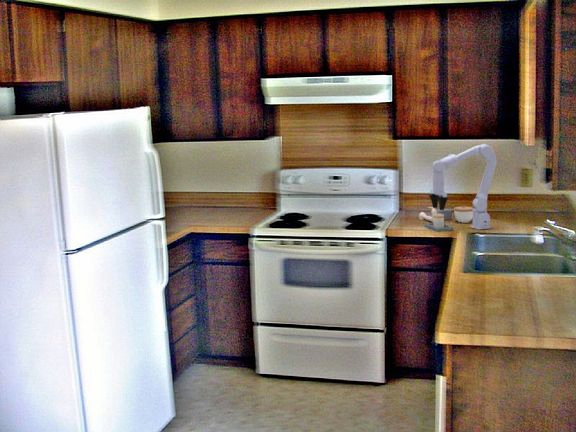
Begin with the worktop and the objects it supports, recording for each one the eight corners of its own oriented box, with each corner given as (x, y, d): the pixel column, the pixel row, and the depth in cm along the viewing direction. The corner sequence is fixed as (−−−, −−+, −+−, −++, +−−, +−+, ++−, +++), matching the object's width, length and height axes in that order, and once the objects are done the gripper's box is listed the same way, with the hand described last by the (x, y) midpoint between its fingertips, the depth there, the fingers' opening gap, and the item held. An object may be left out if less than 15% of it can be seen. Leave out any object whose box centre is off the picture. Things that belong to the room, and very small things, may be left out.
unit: (452, 220, 421) (452, 209, 419) (438, 221, 418) (438, 211, 417) (447, 218, 426) (447, 208, 425) (433, 220, 424) (433, 209, 423)
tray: (452, 229, 395) (452, 227, 394) (437, 231, 392) (437, 228, 392) (439, 225, 409) (439, 222, 409) (424, 226, 406) (424, 223, 406)
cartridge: (443, 227, 399) (443, 214, 398) (436, 228, 398) (437, 215, 397) (440, 226, 403) (440, 213, 402) (433, 227, 402) (433, 214, 401)
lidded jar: (450, 221, 419) (450, 204, 417) (466, 219, 423) (466, 202, 421) (460, 224, 409) (461, 207, 407) (477, 222, 413) (477, 205, 411)
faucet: (425, 227, 429) (422, 210, 431) (440, 221, 413) (437, 204, 414) (419, 227, 428) (416, 210, 430) (433, 222, 412) (431, 204, 413)
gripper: (425, 182, 402) (425, 207, 405) (438, 185, 388) (438, 211, 391) (437, 181, 404) (437, 206, 407) (450, 184, 390) (450, 210, 393)
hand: (438, 208), depth 399 cm, fingers open, 7 cm apart
